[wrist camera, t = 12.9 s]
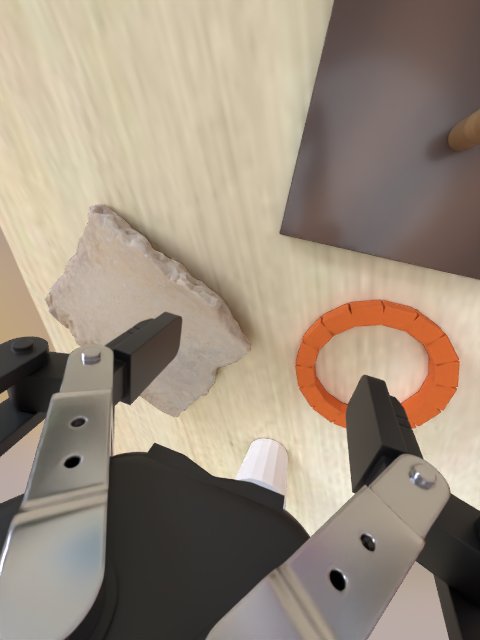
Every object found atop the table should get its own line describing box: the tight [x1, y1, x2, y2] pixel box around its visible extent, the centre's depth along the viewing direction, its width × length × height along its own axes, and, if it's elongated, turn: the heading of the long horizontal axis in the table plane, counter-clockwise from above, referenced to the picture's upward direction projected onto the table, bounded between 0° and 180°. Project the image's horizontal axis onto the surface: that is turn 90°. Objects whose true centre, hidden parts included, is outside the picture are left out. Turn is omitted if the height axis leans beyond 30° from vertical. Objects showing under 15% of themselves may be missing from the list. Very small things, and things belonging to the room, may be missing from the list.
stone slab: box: [45, 204, 251, 417], centre depth 32 cm, size 24×8×20 cm
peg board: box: [280, 0, 480, 280], centre depth 18 cm, size 19×19×8 cm
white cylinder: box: [235, 438, 288, 510], centre depth 36 cm, size 7×7×7 cm
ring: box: [295, 300, 459, 429], centre depth 29 cm, size 15×15×2 cm
